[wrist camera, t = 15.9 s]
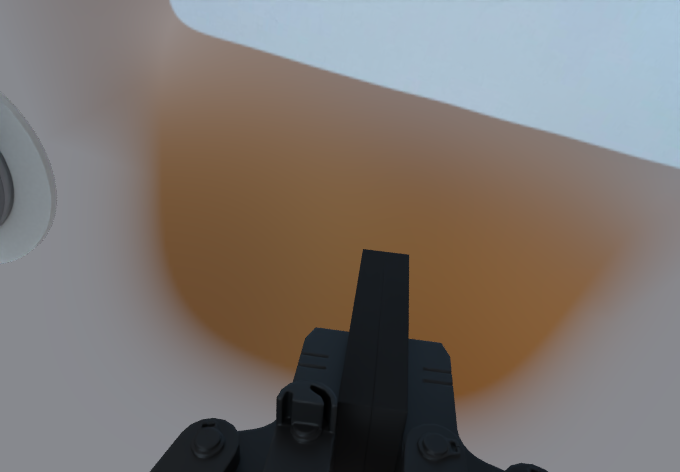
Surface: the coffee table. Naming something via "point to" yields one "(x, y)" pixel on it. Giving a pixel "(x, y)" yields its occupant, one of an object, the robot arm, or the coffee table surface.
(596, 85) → the coffee table surface
